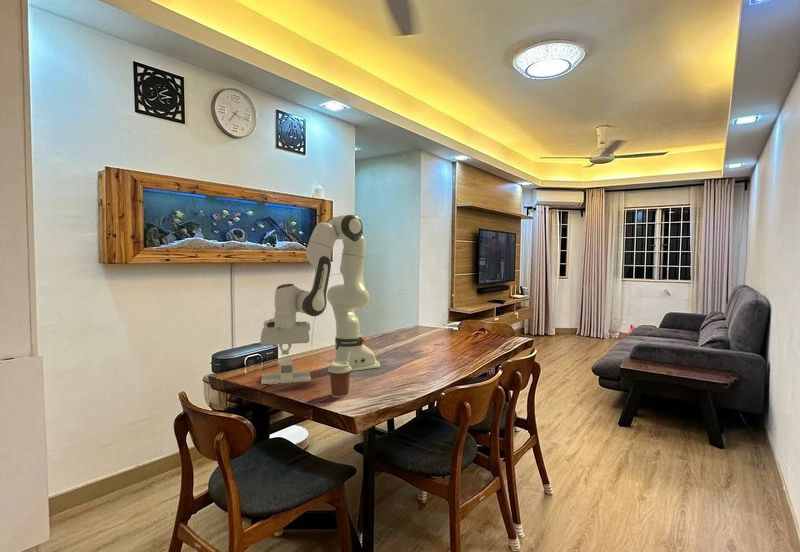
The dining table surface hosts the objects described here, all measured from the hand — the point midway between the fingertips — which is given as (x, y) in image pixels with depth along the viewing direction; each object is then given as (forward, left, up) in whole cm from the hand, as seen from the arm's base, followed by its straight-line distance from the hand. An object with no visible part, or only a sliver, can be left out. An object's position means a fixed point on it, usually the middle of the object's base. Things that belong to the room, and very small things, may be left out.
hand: (285, 354), depth 179 cm
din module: (0, 0, -10) cm, 10 cm away
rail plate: (0, 0, -11) cm, 11 cm away
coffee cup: (-19, +27, -11) cm, 35 cm away
